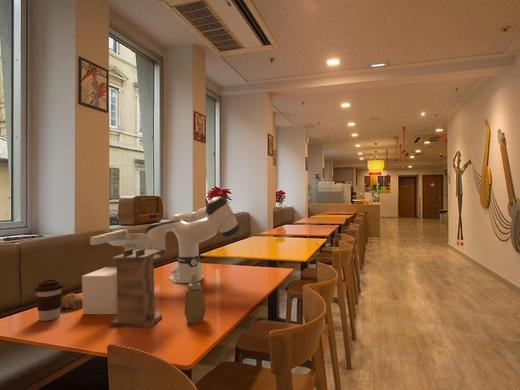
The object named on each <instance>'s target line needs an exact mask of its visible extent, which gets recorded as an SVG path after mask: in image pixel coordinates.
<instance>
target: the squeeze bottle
mask: <svg viewBox="0 0 520 390" xmlns="http://www.w3.org/2000/svg"><path fill="white" fill-rule="evenodd" d="M187 284H188V288H187V290H186V292H185V299H184V300H185V301H184V312H183V313H184V316H185V319H186V321H187V323H188V324H190V325H193V324H194V325H195V324H200V323H202V322H203V321H204V319H205V317H206V316H205V315H206V312H207V311H206V303H205V302H206V301H205V295H204V294H205V293H204V290H203V288H202V287H201V283H200V282H199V281H198V282H197V278H196V274H193V275H192V281H191V283H187Z"/></svg>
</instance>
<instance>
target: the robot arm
mask: <svg viewBox="0 0 520 390" xmlns="http://www.w3.org/2000/svg"><path fill="white" fill-rule="evenodd" d="M239 231H240V224H239V222H238V220H237V217H236V215H235V213H234V211H233V210H232V208H231V206H230V205H229V204H228V201H227V200H226V198H225V197H224V196H221V195H220V196H216V197H215V196H214V197H212V198H211V199H210V200H209V201H208V202H207V204H206V206H205V207H201V208H199V209H198V210H196V211H191V212H179V213H176V214H173V215H171V216H170V217H169V219H168V221H165V222H157V223H156V222H155V223H151V224H149V225H148V226H147V227H146V229H145V233H131V232H129V231H128V232H127V231H125V232H124V234H123V235H124V236H126V237H122V238H119V239H115V240H112V241H108V242H106V243H107V244H109V245H111V246H115V247H123V249H124V251H125V250H128V249H133V250H140V249H145V250H162V252H161V253H159V254H157V255H154V256H153V261H154V260H159V259H160V258H162V257H163V256H164V255H165V253H166V234H167V233H168V232H173V234H174V235H175V236H176V239H177V242H178V243H177V244H178V256H177V263H176V264H175V265H174V266H173V268H172V269H171V275H169V276H168V280H170V281H171V282H172V283H174V284H190V283H191V281H192V275H193V274H196V278H197V282H198V283H199V282H201V281H202V280H203V279H204V278H205V276H204V275H203V270H202V269H203V268H202V263H200V254H199V252H200V251H199V244H200V243H203V242H205V241H208V240H209V239H211V238H212V237H214V236H216V235H217V233H218V232H219V233H220V235H221V236H222V237H223V238H225V239H229V238H232V237H234V236H236V235H237V234H238V233H239Z"/></svg>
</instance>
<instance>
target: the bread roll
mask: <svg viewBox="0 0 520 390" xmlns="http://www.w3.org/2000/svg"><path fill="white" fill-rule="evenodd" d="M80 307H81V308H83V302H82V297H81V296H80V295H79V294H76V293H69V294H65V295H64V296H62V300H61V307H60V312H70V311H69V310H71V311H75V310H79V309H80ZM78 308H79V309H78ZM74 309H75V310H74Z"/></svg>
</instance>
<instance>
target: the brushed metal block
mask: <svg viewBox="0 0 520 390" xmlns="http://www.w3.org/2000/svg"><path fill="white" fill-rule="evenodd" d="M125 231H127V232H128V233H129V230H128V229H120V230H119V229H118V230H115V231H110V232H107V233H104V234H98V235H95V236H91V237H89V245H90V246H91V245H92V246H93V245H94V246H95V245H96V246H98V245H101V244H105V243H107V242H108V241H112V240H115V239H119V238H122V237H126V236H124V235H123V234H124V232H125Z"/></svg>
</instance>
